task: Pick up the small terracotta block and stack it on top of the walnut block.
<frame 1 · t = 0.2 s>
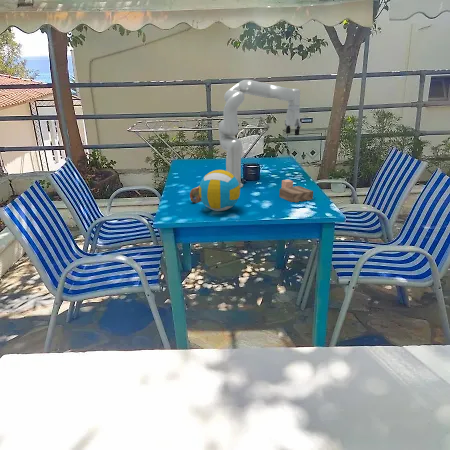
hand: (292, 134, 279), 31 cm above the table, tool pointing down, fingers open, 9 cm apart
walnut block: (295, 198, 245), on the table
volleyball: (219, 210, 224), on the table
terracotta block: (287, 190, 262), on the table
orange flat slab: (199, 201, 242), on the table
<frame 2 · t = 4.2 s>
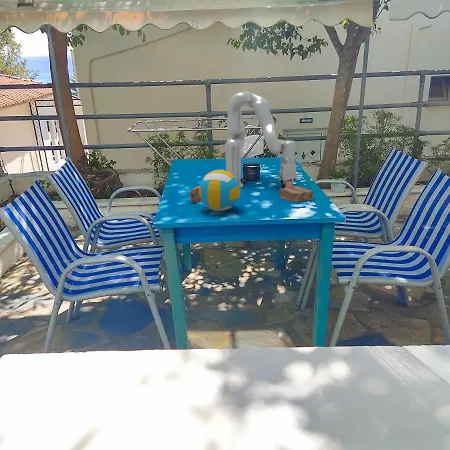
hand: (287, 188, 262), 1 cm above the table, tool pointing down, fingers closed on terracotta block, 5 cm apart
terracotta block: (287, 189, 262), on the table, touching gripper
everything else where it was.
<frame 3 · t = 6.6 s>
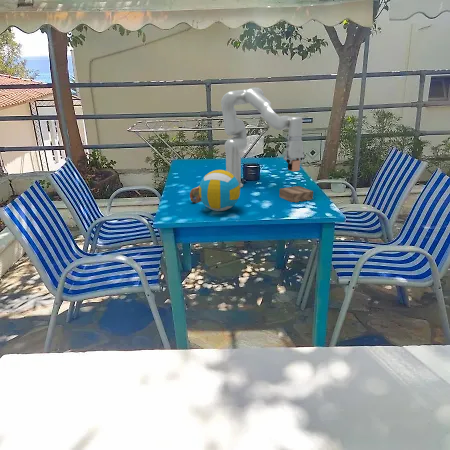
hand: (293, 169, 247), 16 cm above the table, tool pointing down, fingers closed on terracotta block, 5 cm apart
terracotta block: (293, 170, 247), point 15 cm above the table, touching gripper
everything else where it was.
when the fingers open (7 cm above the table, at t = 9.5 s): terracotta block drops 1 cm, resting on walnut block.
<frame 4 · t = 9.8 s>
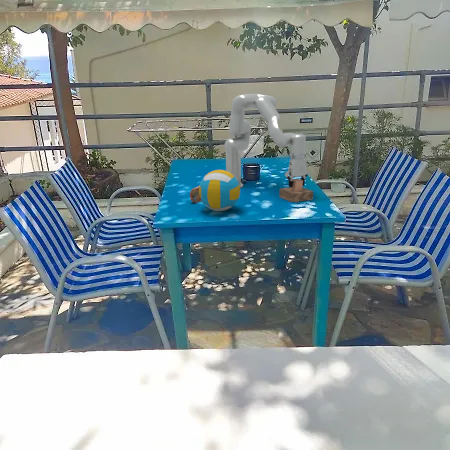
hand: (296, 186, 242), 7 cm above the table, tool pointing down, fingers open, 7 cm apart
terracotta block: (296, 189, 243), point 5 cm above the table, touching walnut block
everything else where it was.
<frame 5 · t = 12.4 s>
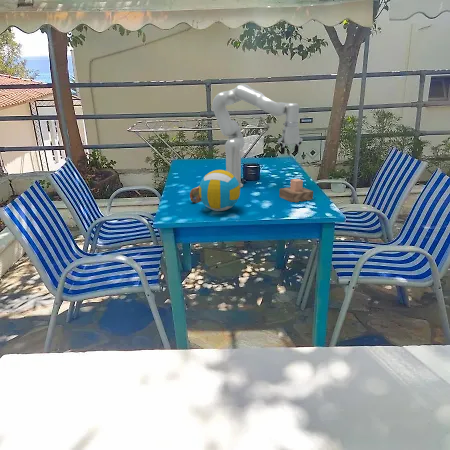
hand: (289, 153, 253), 24 cm above the table, tool pointing down, fingers open, 9 cm apart
nothing on the table moved.
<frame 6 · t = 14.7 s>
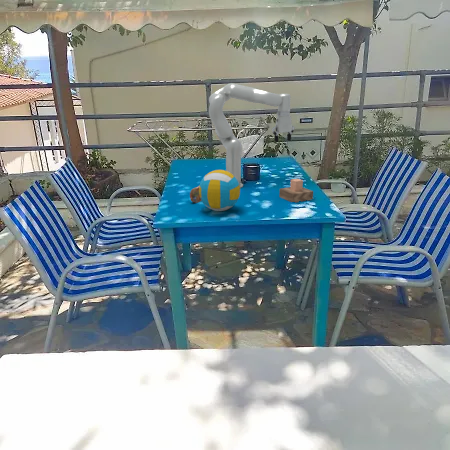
hand: (282, 141, 269), 28 cm above the table, tool pointing down, fingers open, 9 cm apart
nothing on the table moved.
at the end: terracotta block inside the target area on the walnut block (0.1 cm from its centre), point 5.0 cm above the walnut block's base; terracotta block tilted 0°; the gripper is holding nothing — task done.
